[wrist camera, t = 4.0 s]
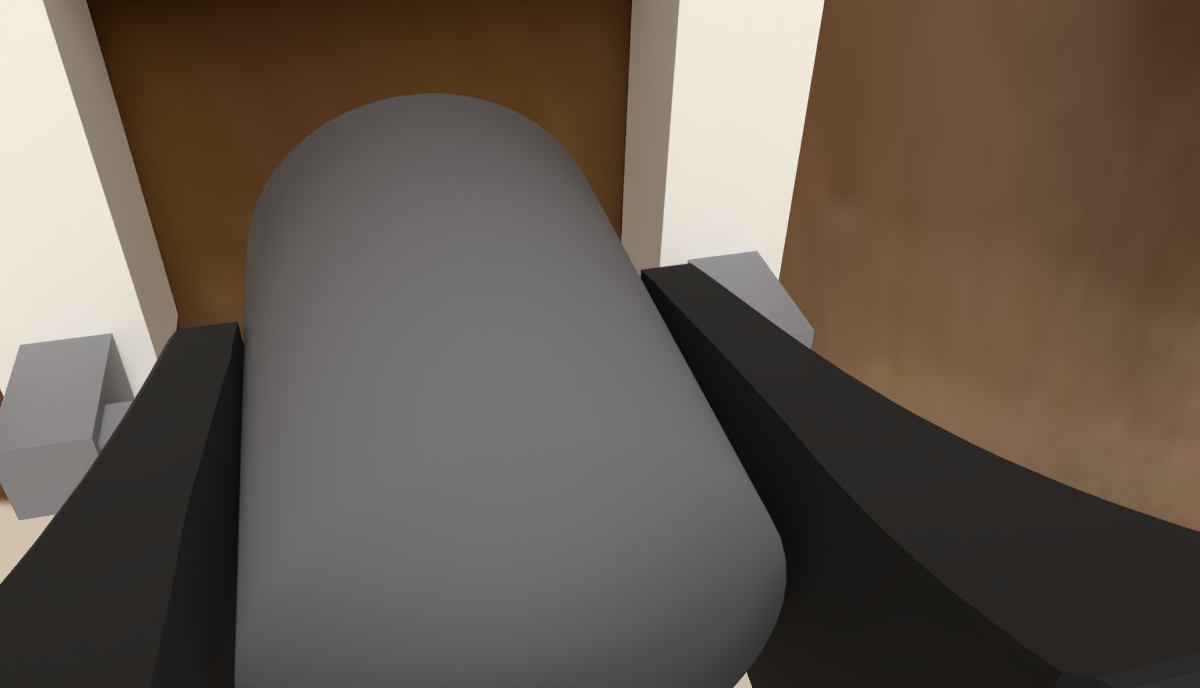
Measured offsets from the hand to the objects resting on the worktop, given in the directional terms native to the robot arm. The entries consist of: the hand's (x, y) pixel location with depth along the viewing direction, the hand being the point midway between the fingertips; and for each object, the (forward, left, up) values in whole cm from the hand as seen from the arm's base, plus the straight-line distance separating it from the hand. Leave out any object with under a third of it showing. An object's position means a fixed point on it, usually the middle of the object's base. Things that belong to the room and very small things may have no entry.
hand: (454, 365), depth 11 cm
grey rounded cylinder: (0, 0, -2) cm, 2 cm away
